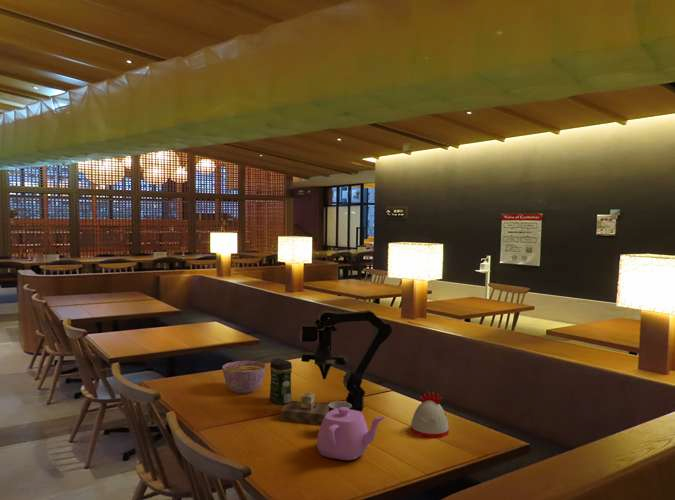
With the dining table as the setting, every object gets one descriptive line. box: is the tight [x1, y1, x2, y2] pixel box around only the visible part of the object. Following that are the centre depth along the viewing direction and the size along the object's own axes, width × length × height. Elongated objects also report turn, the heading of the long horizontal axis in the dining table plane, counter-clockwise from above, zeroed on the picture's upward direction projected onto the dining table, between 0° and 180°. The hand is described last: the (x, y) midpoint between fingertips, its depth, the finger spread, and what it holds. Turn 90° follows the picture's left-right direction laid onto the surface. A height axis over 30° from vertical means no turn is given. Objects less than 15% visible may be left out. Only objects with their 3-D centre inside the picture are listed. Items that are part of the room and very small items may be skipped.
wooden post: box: [300, 392, 316, 410], centre depth 211 cm, size 4×4×9 cm
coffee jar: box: [269, 357, 293, 405], centre depth 230 cm, size 10×8×19 cm
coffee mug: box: [328, 401, 353, 412], centre depth 197 cm, size 12×9×10 cm
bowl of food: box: [221, 360, 267, 395], centre depth 244 cm, size 20×20×12 cm
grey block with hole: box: [280, 400, 330, 426], centre depth 211 cm, size 18×12×4 cm, turn 76°
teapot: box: [316, 407, 386, 461], centre depth 176 cm, size 23×21×15 cm
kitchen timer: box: [410, 391, 450, 439], centre depth 199 cm, size 14×14×15 cm
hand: (324, 379), depth 220 cm, fingers closed
